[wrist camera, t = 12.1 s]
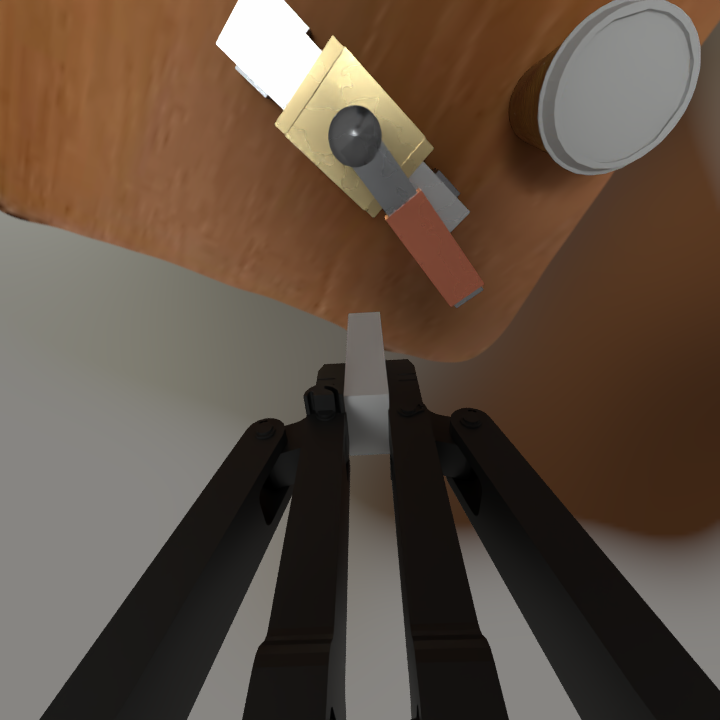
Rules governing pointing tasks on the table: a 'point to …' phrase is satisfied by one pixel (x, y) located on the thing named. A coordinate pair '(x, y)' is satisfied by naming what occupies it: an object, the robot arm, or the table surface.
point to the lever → (403, 204)
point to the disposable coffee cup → (610, 87)
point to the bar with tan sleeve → (327, 100)
